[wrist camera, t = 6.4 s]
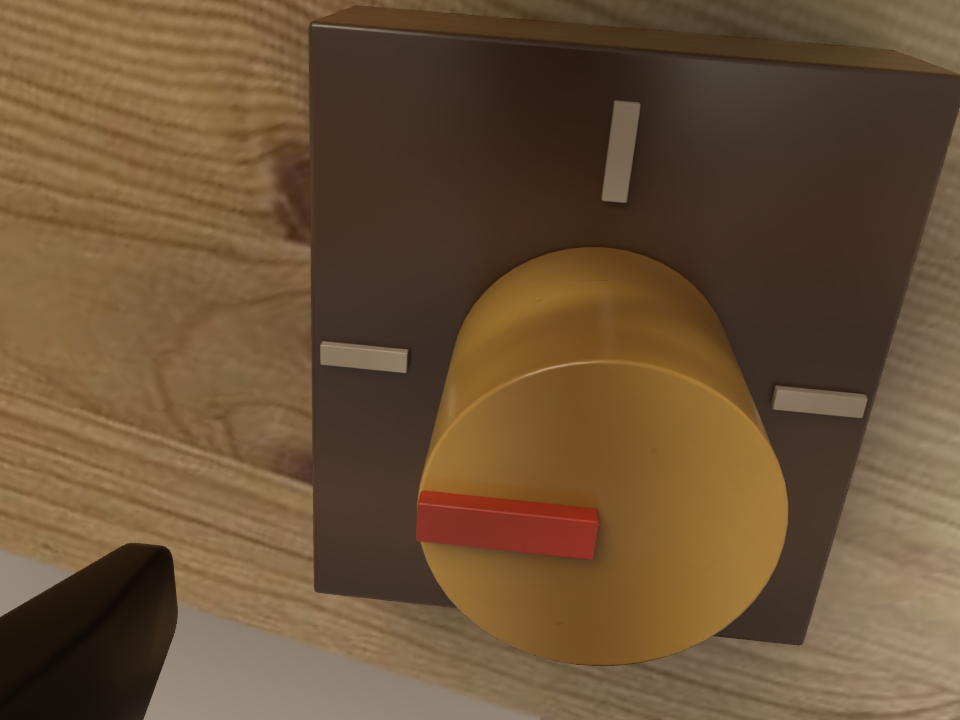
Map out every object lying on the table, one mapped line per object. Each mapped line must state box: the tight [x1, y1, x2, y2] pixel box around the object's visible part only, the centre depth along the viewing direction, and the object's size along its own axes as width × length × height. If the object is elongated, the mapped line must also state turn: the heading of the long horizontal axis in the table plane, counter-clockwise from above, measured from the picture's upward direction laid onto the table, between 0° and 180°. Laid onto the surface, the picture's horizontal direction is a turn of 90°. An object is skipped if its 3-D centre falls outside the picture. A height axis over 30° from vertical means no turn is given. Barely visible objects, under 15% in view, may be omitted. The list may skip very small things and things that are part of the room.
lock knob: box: [416, 247, 788, 666], centre depth 13 cm, size 4×4×4 cm
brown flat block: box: [309, 6, 960, 645], centre depth 16 cm, size 10×9×3 cm
